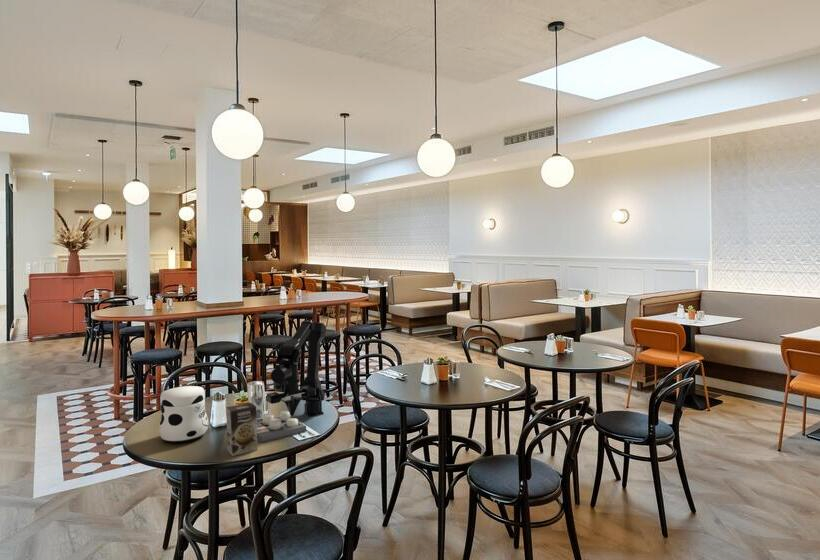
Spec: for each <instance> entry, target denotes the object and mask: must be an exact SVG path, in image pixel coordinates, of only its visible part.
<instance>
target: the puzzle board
mask: <svg viewBox="0 0 820 560" xmlns="http://www.w3.org/2000/svg"><path fill="white" fill-rule="evenodd" d="M292 418H293V416H291V419H292ZM274 419H279V416H277V417H274ZM305 431H306V432H307V426H306V424H303V423H302V422H300V421H299V420H298V426H295V427H290V428H289V427H287V421H281V429H279V430H270V426H269V425H263V420H260V421H259V420H258V421H257V441H259V442H260V443H261V444H262V443H263V444H264V443H267V442H271V441H276V440H279V439H283V438H286V437H291V436H294V434H295V435H298V434H297V433H299V434H301V432H303V433H306V432H305Z"/></svg>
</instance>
